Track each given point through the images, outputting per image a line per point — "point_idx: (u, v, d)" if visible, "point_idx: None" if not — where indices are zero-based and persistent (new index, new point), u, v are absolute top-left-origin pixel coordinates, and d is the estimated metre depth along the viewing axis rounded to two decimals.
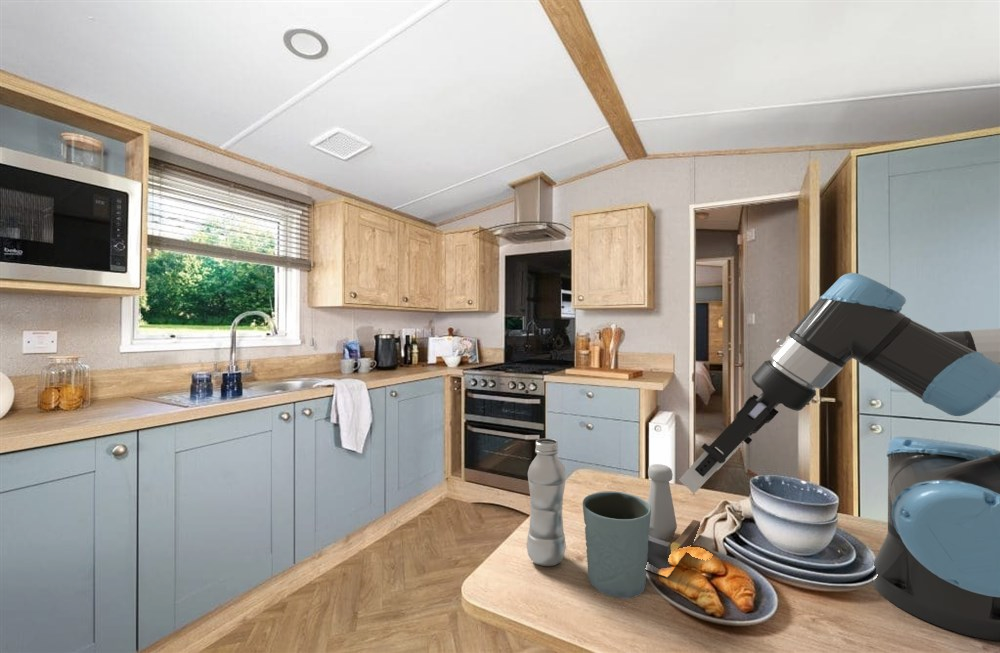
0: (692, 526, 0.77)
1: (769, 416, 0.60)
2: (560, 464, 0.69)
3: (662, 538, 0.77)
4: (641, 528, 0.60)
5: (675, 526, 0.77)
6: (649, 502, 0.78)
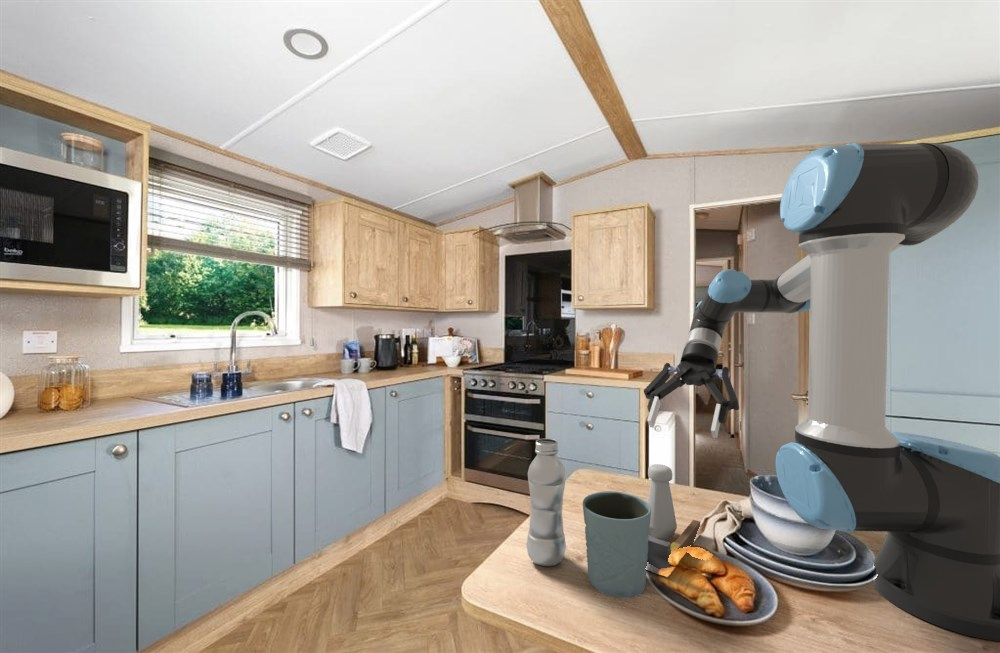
0: (692, 526, 0.77)
1: None
2: (560, 464, 0.69)
3: (662, 538, 0.77)
4: (641, 528, 0.60)
5: (675, 526, 0.77)
6: (649, 502, 0.78)
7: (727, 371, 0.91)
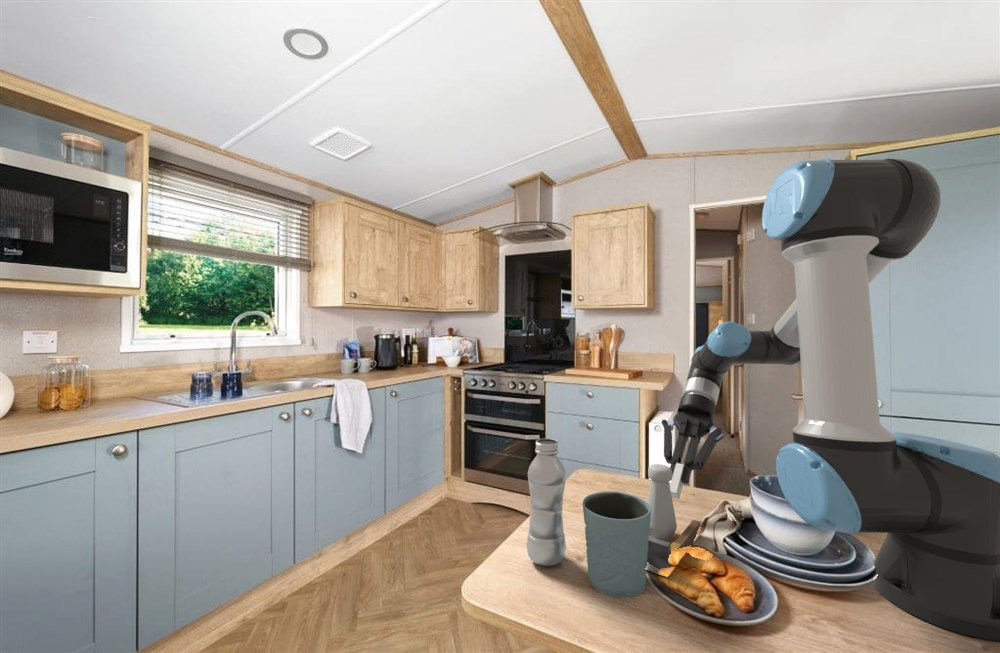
0: (692, 526, 0.77)
1: None
2: (560, 464, 0.69)
3: (662, 538, 0.77)
4: (641, 528, 0.60)
5: (675, 526, 0.77)
6: (649, 502, 0.78)
7: (717, 433, 0.89)
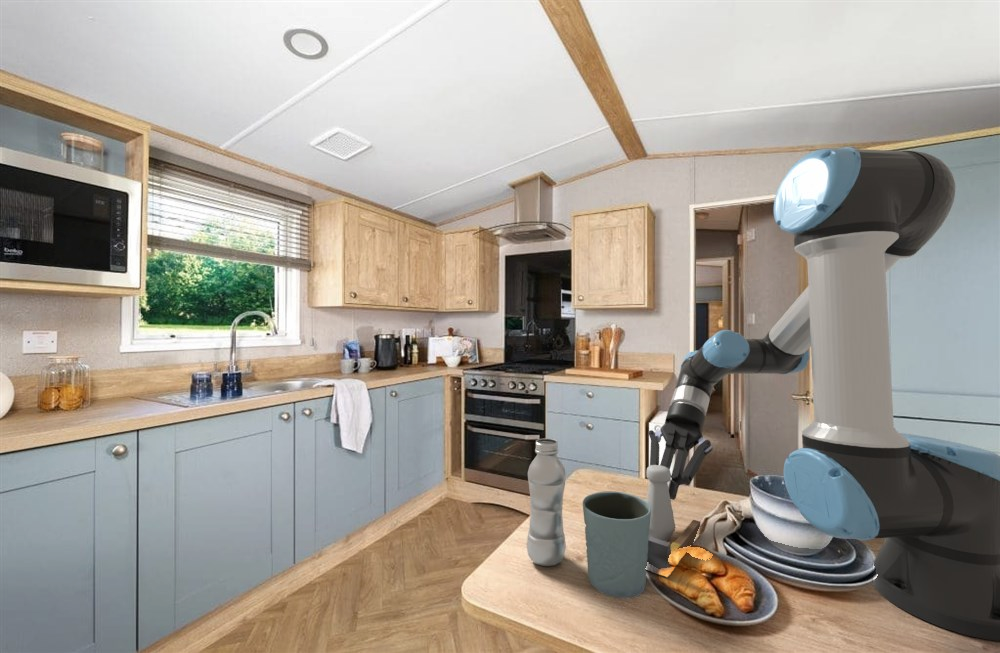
0: (692, 526, 0.77)
1: None
2: (560, 464, 0.69)
3: (660, 539, 0.76)
4: (641, 528, 0.60)
5: (673, 527, 0.76)
6: None
7: (706, 445, 0.84)
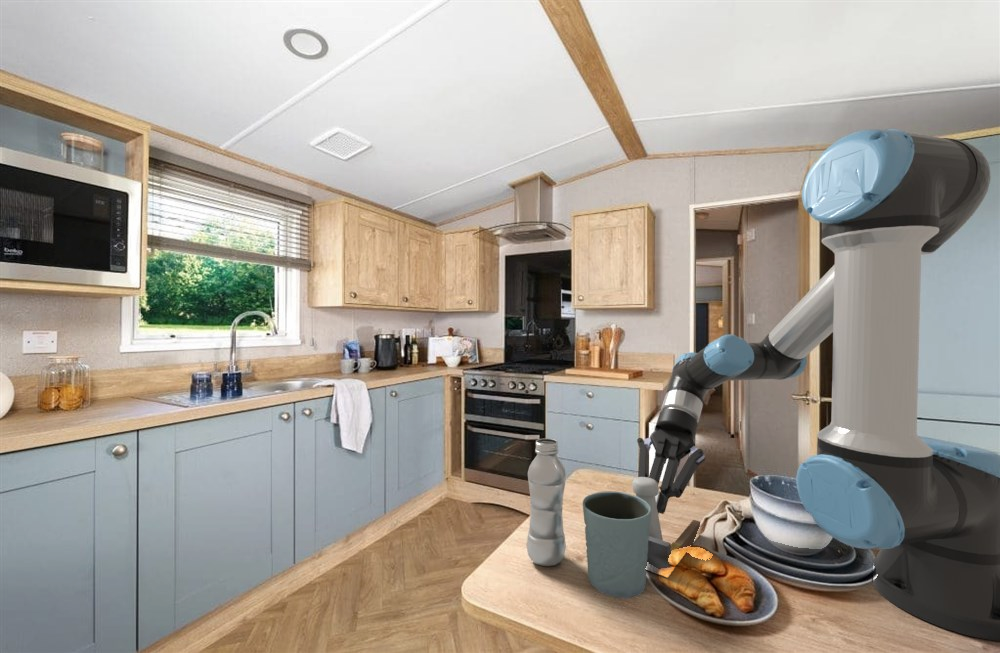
0: (692, 526, 0.77)
1: None
2: (560, 464, 0.69)
3: None
4: (641, 528, 0.60)
5: None
6: None
7: (698, 455, 0.78)
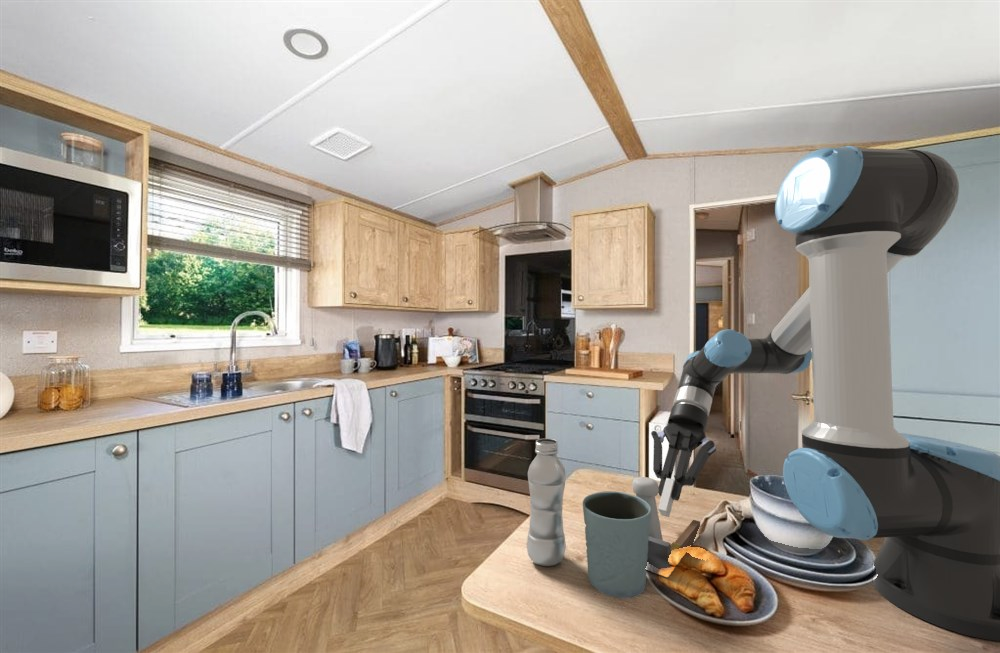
0: (692, 526, 0.77)
1: (672, 433, 0.89)
2: (560, 464, 0.69)
3: None
4: (641, 528, 0.60)
5: None
6: None
7: (709, 446, 0.84)
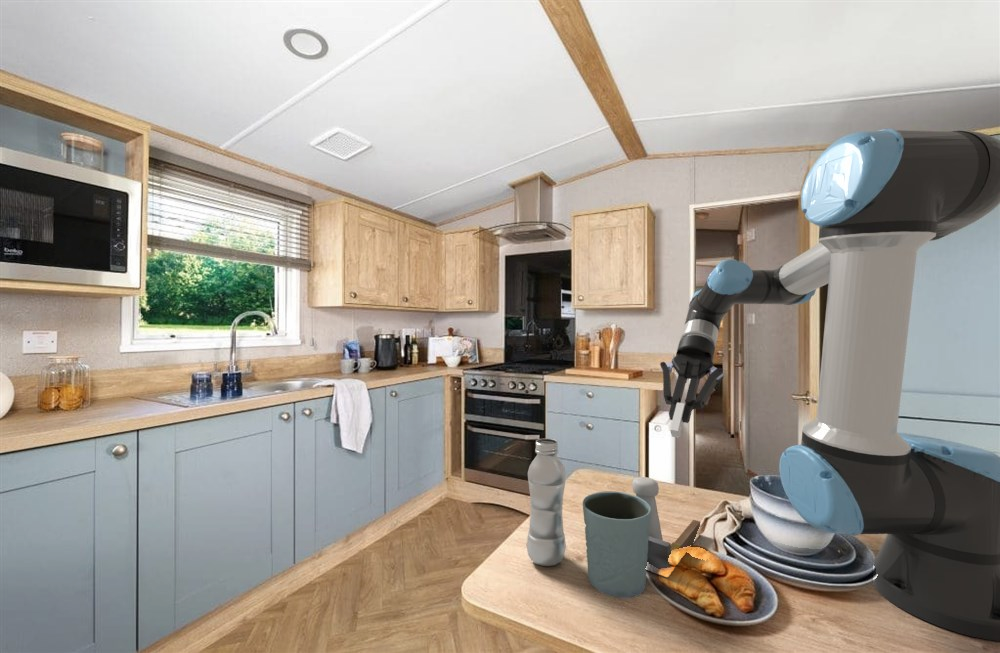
0: (692, 526, 0.77)
1: (681, 363, 0.92)
2: (560, 464, 0.69)
3: None
4: (641, 528, 0.60)
5: None
6: None
7: (718, 373, 0.87)
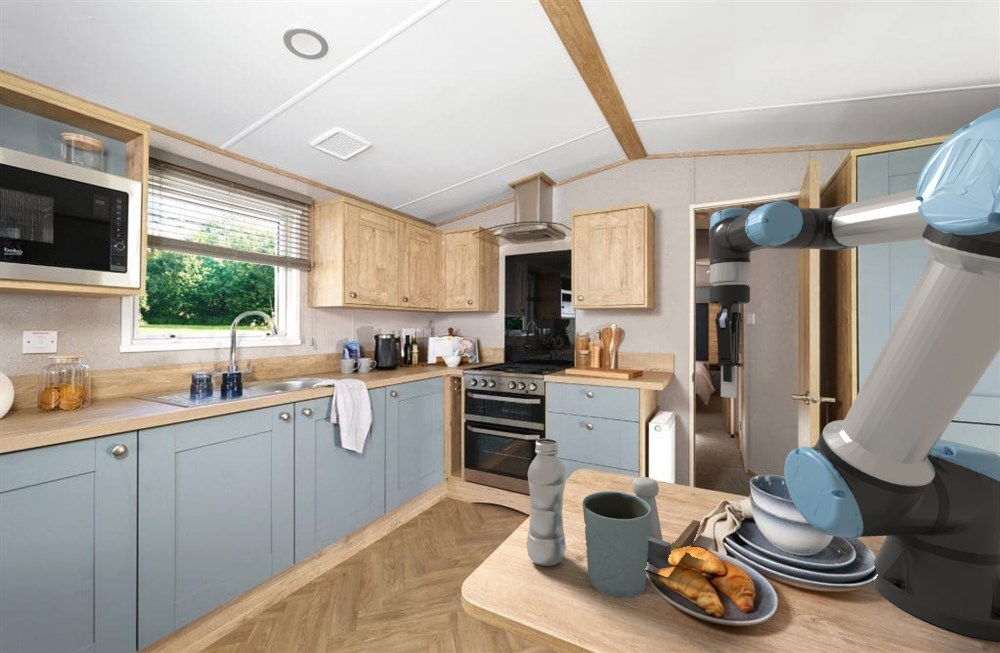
0: (692, 526, 0.77)
1: (735, 317, 0.86)
2: (560, 464, 0.69)
3: None
4: (641, 528, 0.60)
5: None
6: None
7: (740, 324, 0.92)
